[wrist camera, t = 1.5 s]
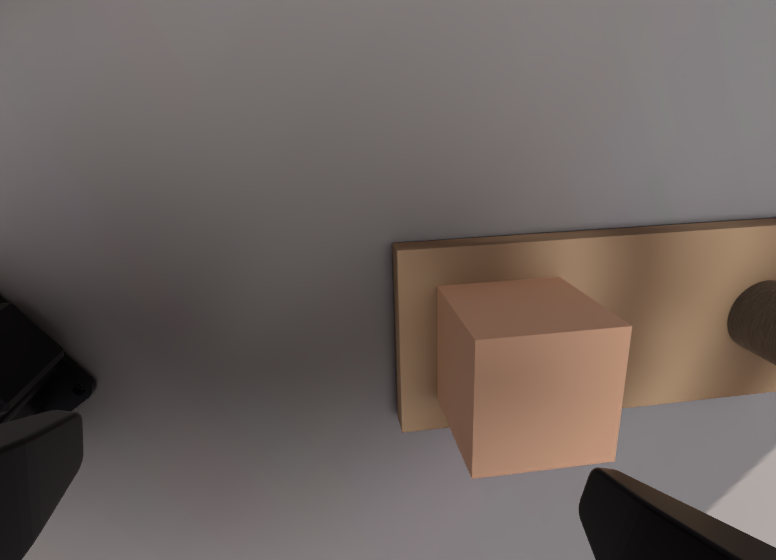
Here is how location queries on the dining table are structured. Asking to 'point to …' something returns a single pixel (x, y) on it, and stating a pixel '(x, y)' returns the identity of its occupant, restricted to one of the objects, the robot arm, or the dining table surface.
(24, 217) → the dining table surface
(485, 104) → the dining table surface
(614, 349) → the cube
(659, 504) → the robot arm
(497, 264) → the wooden base with cylinder
